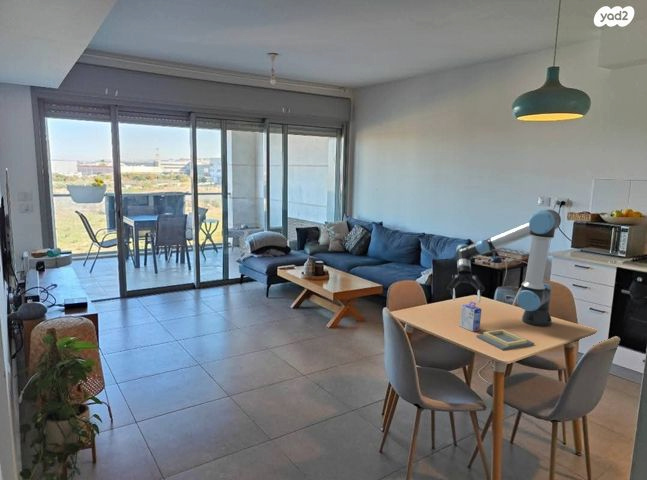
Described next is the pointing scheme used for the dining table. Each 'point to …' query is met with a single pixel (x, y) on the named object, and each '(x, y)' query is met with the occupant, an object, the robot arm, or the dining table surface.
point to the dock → (504, 339)
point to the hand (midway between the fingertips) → (466, 300)
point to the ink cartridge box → (470, 317)
